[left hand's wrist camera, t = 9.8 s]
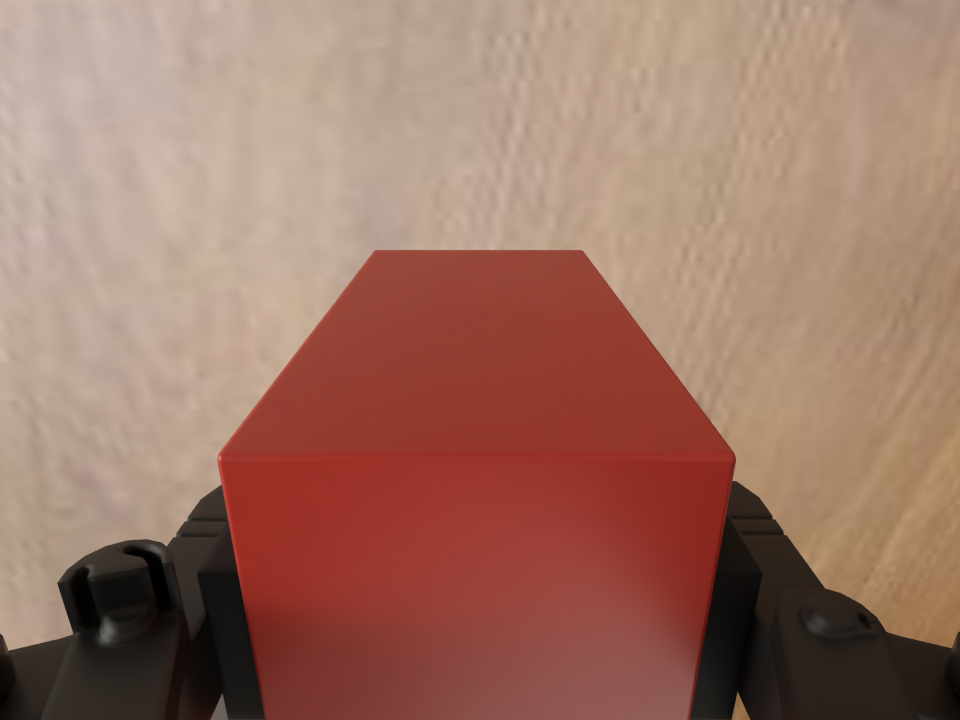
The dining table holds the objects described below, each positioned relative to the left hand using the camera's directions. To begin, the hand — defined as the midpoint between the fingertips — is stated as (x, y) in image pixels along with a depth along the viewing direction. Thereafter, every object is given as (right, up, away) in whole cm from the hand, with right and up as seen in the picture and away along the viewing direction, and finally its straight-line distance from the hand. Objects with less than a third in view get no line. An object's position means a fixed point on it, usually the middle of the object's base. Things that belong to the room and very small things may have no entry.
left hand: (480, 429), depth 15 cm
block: (0, +2, +4) cm, 4 cm away
